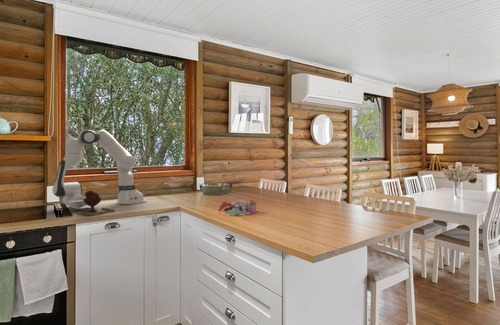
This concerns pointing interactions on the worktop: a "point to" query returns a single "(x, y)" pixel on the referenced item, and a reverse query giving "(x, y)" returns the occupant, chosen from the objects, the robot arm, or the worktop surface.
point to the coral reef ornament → (239, 207)
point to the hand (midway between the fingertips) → (89, 203)
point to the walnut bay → (97, 213)
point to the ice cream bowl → (92, 200)
